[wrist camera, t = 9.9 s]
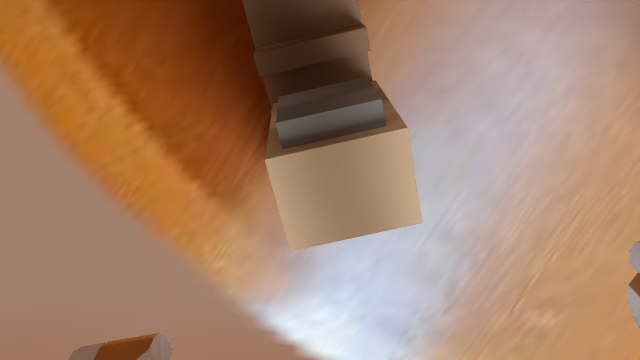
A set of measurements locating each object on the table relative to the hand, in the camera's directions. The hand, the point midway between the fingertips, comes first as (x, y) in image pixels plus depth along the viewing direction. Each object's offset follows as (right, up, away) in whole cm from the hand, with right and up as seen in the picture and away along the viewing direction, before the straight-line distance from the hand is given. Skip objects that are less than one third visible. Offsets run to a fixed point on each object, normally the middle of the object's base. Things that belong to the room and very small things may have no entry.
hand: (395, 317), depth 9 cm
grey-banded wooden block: (-1, +4, +11) cm, 12 cm away
